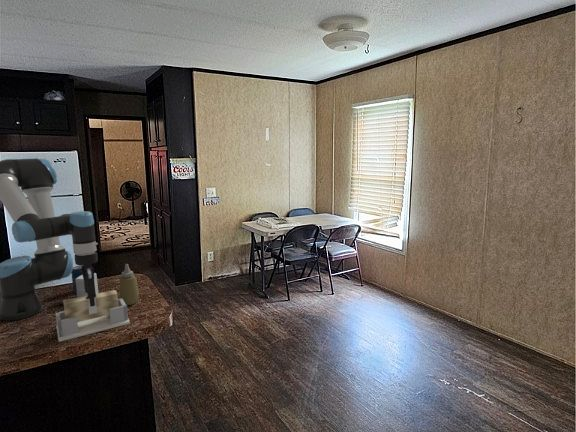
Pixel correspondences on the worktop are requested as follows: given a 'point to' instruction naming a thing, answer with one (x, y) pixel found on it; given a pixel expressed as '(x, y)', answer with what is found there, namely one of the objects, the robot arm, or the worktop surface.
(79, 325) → the bracket board
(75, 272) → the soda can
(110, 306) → the rail
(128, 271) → the squeeze bottle
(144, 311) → the worktop surface
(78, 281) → the small box
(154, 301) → the worktop surface
